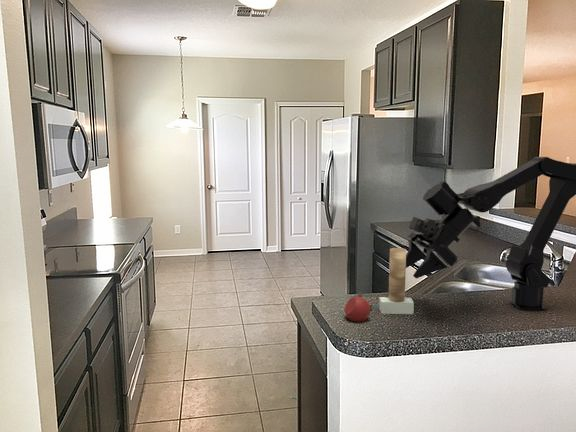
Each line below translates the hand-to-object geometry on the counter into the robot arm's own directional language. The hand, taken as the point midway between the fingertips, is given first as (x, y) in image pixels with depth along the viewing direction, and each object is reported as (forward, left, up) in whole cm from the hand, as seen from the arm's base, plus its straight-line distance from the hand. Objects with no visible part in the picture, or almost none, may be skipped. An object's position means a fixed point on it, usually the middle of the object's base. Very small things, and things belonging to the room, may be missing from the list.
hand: (407, 272), depth 124 cm
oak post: (+3, 0, -7) cm, 8 cm away
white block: (+3, 0, -10) cm, 10 cm away
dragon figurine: (+11, +1, -11) cm, 15 cm away
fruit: (+12, +6, -10) cm, 17 cm away
